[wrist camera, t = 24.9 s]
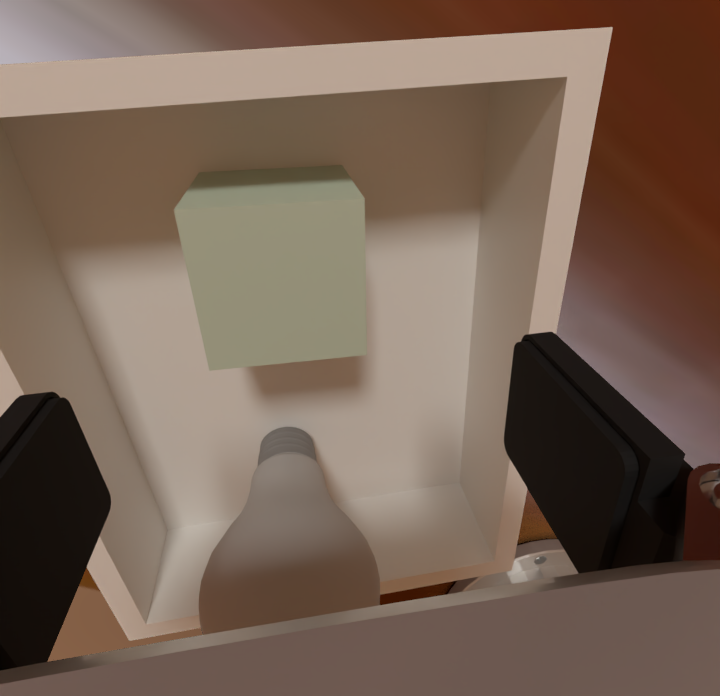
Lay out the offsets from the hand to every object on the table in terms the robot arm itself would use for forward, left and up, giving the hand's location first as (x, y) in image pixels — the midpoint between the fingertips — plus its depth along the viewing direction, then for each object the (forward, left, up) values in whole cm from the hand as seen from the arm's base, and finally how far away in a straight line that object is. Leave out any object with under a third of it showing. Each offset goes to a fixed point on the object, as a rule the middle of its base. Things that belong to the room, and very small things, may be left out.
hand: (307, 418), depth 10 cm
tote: (-4, 0, -11) cm, 12 cm away
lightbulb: (-9, +1, -10) cm, 14 cm away
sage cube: (+1, 0, -10) cm, 10 cm away
